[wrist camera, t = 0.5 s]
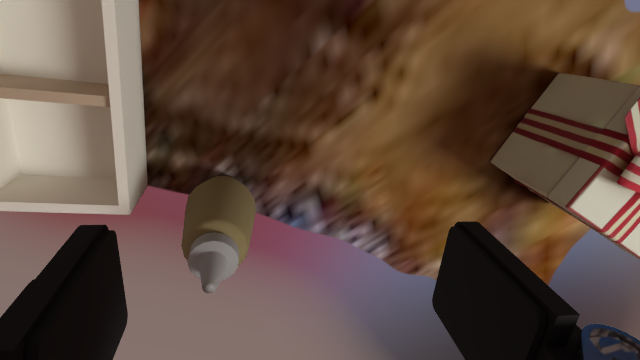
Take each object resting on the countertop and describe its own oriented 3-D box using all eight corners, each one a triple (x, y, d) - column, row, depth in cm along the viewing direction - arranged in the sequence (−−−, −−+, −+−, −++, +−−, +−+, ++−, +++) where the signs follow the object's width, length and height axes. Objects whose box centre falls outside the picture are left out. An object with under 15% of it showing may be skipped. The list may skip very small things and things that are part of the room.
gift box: (640, 99, 53) (803, 133, 37) (556, 207, 58) (668, 277, 42) (559, 39, 47) (710, 50, 32) (474, 164, 53) (568, 227, 37)
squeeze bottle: (176, 194, 47) (136, 288, 31) (224, 153, 46) (210, 228, 30) (222, 234, 50) (208, 339, 34) (268, 197, 49) (277, 287, 33)
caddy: (-30, -64, 34) (-100, -84, 27) (136, -39, 37) (110, -51, 30) (16, 179, 43) (-27, 209, 36) (147, 185, 46) (129, 214, 39)
